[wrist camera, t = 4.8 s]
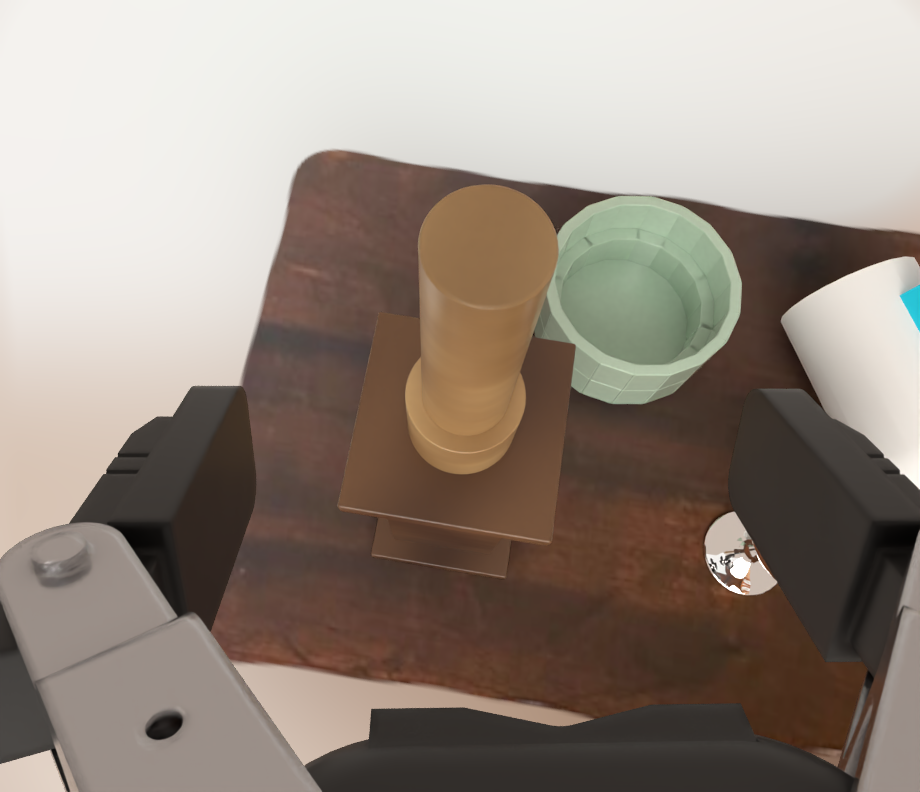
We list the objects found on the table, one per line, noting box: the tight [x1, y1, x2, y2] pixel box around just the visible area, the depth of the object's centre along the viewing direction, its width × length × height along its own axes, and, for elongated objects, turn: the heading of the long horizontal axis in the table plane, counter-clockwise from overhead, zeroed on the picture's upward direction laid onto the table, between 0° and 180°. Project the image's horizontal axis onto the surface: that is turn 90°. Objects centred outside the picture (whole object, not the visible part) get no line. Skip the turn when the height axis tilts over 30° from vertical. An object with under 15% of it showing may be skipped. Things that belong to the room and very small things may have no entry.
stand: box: [338, 312, 576, 579], centre depth 33 cm, size 7×7×16 cm
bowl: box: [534, 196, 742, 404], centre depth 41 cm, size 10×10×6 cm
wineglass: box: [703, 511, 778, 596], centre depth 35 cm, size 6×6×12 cm
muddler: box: [405, 184, 559, 474], centre depth 20 cm, size 4×4×12 cm
